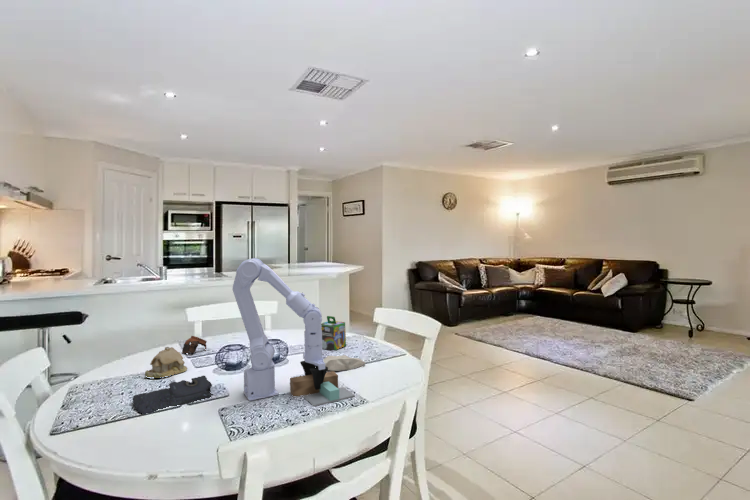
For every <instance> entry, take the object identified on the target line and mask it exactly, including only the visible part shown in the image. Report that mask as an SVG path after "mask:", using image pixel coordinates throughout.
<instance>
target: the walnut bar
mask: <svg viewBox="0 0 750 500" xmlns="http://www.w3.org/2000/svg"><path fill="white" fill-rule="evenodd" d="M328 381H329V382H330V383H332V384H333V385H334V386H336V387H337V388H339V374H338V373H336V371H327V372H326V374H325V377H324V381H323V382H328ZM289 392H290V394H291V396H292V395H293V396H298V397H301V396H300V395H303V396H306V395H310V394H315V393H319V392H320V389H318V390H315V387H314V380H313V376H312V375H305V374H304V375H300V376H294V377H293V376H292V377H289ZM293 396H292V397H293Z"/></svg>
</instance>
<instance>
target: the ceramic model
mask: <svg viewBox="0 0 750 500" xmlns="http://www.w3.org/2000/svg"><path fill="white" fill-rule="evenodd" d="M149 365H150V366H151V369H149V370H145V372H144V376H145V377H146V376H147V377H154V378H160V377H165V376H169V377H171V376H170V375H172V376H174V374H175V375H178V374H181V373H184V372H187V370H188V367H187V366H186V365H185V360H184V357H183V355H182V354H181V352H179V351H178V350H176V349H175V348H174V347H173V346H171V347H170V346H166V347H164V349H163V350H161V351H159V352H158V353H157V354H156V355H155V356H154V357H153V358H152V360H151V362H150V364H149Z"/></svg>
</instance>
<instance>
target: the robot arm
mask: <svg viewBox="0 0 750 500" xmlns="http://www.w3.org/2000/svg"><path fill="white" fill-rule="evenodd" d="M256 280H257V281H259V282H267V283H268V284H269V285H270V286H271V287H272V288H274V289H275V290H276V291H277V292H278V293H280V295H282V296H283V297H284V298H285V304H286V305H287V306H288V307H289V308H290V310H292V311H293V312H294V313H295V314H296V315H297V316H299V318H302V321H303V324H304V329H305V330H304V334H303V335H304V352H303V353H302V358H303V360H302V361H300V362H299V363H300V365H301V368H302V369H303V372H304V376H305V375H312V376H313V380H314V387H315V390H318V389H321V384H323V381H324V377H325V374H326V372H329V370H328V367H325V363H324V360H323V359H325V358H326V357H327V356H326V355H324V354H323V349H322V330H321V328H322V327H321V324H322V323H323V322H322V321H323V317H322V316H323V314H322V311H321V310H320V308H319V307H317V306H316V304H315V303H312V302H311V301H310V300H309V299H307V297H305V296H306V294H305V293H304V292H300V291H299V290H297V291H295V290H293V289H292V288H290V286H289V285H288V284H287V283H285V282H284V280H283V279H282V278H281V277H280V276H279V275H278V274H277V273H276V272H275V271H274V270H273V269H272V268H271V267H269V265H267V264H266V263H264V262H263V261H262V260H261V259H259V258H257V257H252V258H249V259H245V260H243V261H242V262H241V263H240V264H239V265H238V267H237V269H236V271H235V277H234V281H233V284H232V293H233V295H234V299H235V301H236V304H237V307H238V311H239V314H240V316H241V319H242V322H243V325H244V328H245V331H246V334H247V337H248V340H249V350H250V354H251V355H250V363H251V367H248V368H246V369H244V371H243V394H244V396H245V397H246V398H247V400H248V401H255V400H261V399H264V398H265V399H266V398H269V397H273V396H279V394H280V392H278V390H277V389H276V387H275V386H276V384H275V383H276V382H275V381H276V379H275V377H276V375H275V372H276V371H275V370H276V369H275V368H276V367H275V365H276V364H275V362H274V361H273V358H274V355H275V351H276V350H275V348H274V346H273V345H272V343H270V340H269V339H268V337H267V336H266V334H265V331H264V328H263V324H262V321H261V320H260V317H259V316H260V315H259V314H258V310H257V308H256V304H255V302H254V298H253V294H252V291H251V287H252V286H253V285H254V282H255V281H256Z"/></svg>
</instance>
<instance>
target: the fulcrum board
mask: <svg viewBox="0 0 750 500" xmlns="http://www.w3.org/2000/svg"><path fill="white" fill-rule="evenodd" d="M355 397H356V395H355V394H354V393H353V392H351V391H349V390H348V389H347V388H346V387H344V386H341V387H338V388H337V387H336V386H334V385H333V384H332V383H330V382H329V381H328V382H323V384H321V389H320V392H319V393H315V394H309V395H303V398H304V399H305V401H307V402H308V401H309V402H310V403H311V404H312V405H313V406H315V407H318V406H323V405H327V404H331V403H335V402H339V401H343V400H346V399H347V400H348V399H350V398H355ZM309 402H308V403H309ZM310 403H309V404H310ZM311 404H310V405H311ZM312 405H311V406H312ZM313 406H312V407H313Z"/></svg>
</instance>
